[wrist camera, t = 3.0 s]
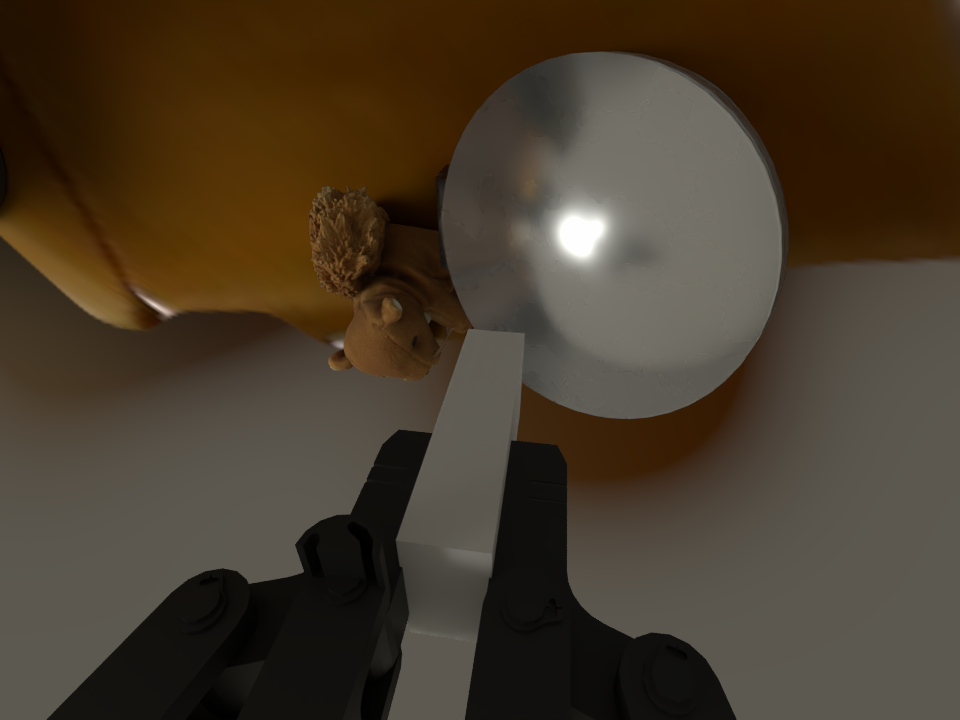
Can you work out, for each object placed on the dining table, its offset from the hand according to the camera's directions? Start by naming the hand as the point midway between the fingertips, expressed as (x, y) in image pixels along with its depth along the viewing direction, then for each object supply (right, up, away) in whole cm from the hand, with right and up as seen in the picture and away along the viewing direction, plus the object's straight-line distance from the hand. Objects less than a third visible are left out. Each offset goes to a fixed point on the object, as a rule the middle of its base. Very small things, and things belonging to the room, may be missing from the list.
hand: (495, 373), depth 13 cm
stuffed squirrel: (-7, +9, +26) cm, 28 cm away
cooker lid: (+4, +5, +7) cm, 10 cm away
